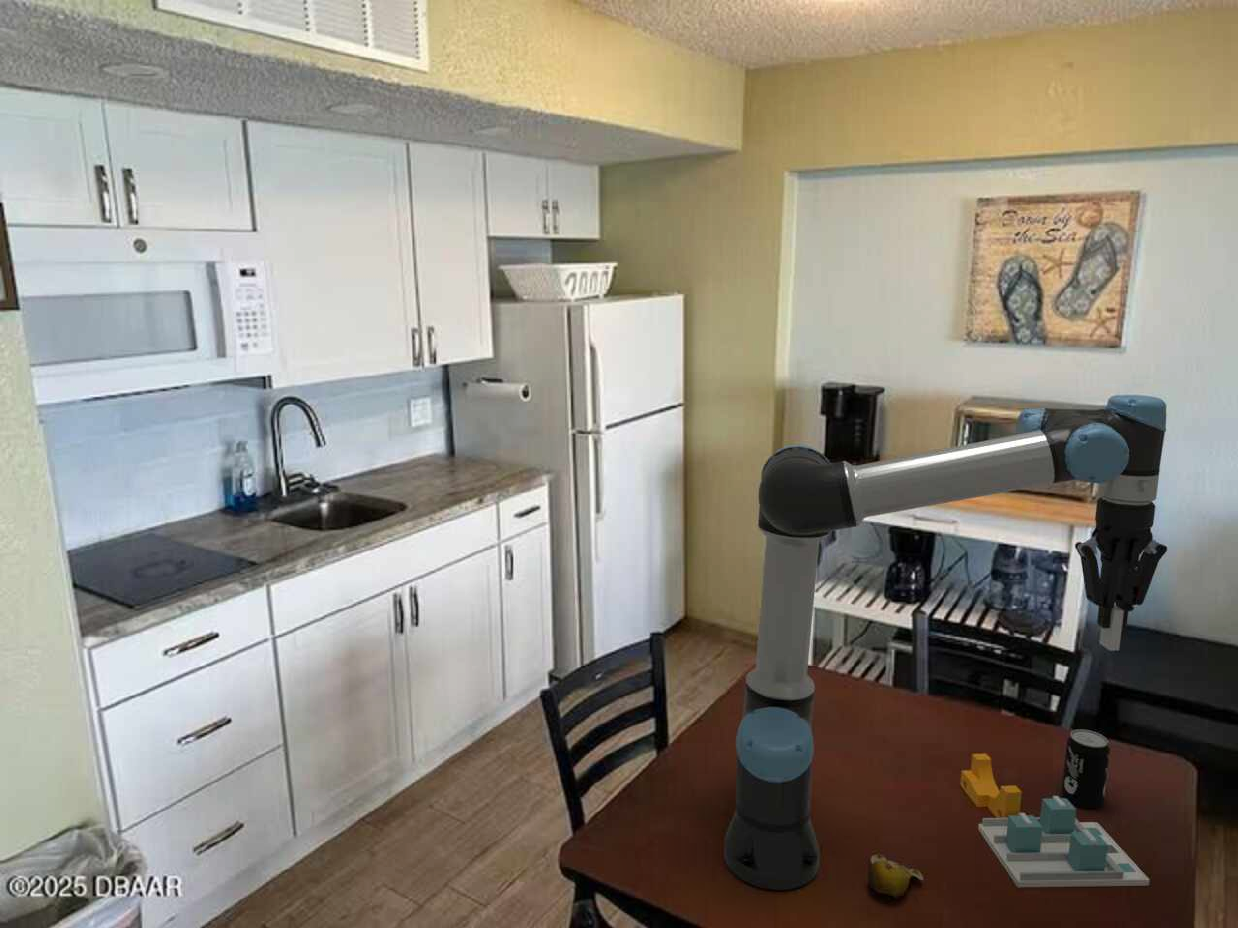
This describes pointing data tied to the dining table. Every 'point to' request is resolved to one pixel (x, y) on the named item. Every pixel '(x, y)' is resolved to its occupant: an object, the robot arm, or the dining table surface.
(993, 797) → the pipe clamp
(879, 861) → the fruit
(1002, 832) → the switch board
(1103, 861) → the tab near
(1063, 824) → the tab far
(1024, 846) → the tab mid
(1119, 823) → the dining table surface
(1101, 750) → the beverage can
